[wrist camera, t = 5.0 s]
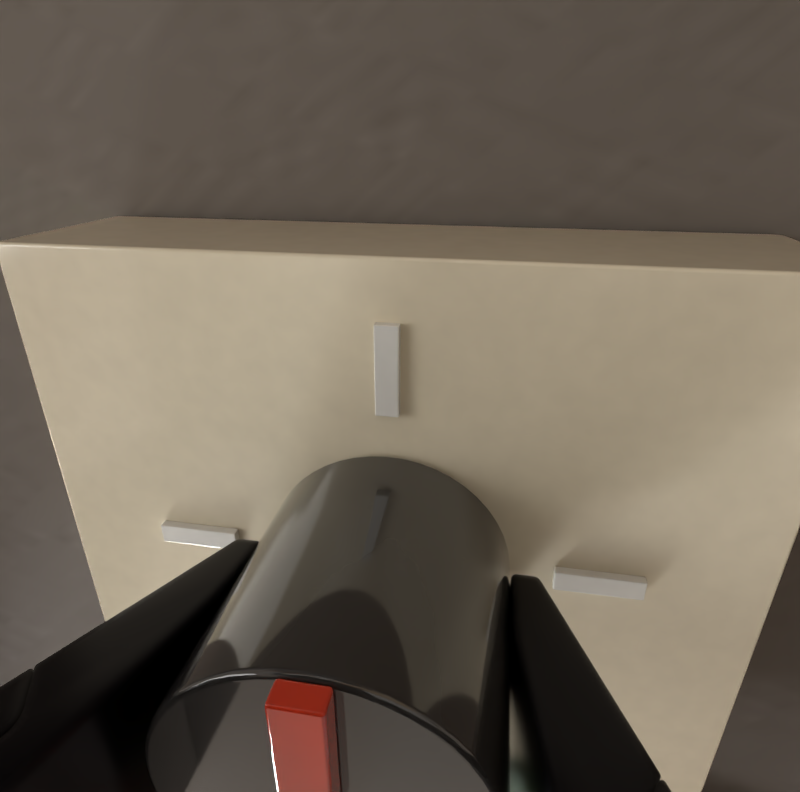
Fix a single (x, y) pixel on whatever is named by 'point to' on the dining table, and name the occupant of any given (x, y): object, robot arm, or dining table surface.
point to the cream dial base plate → (446, 414)
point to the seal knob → (352, 647)
